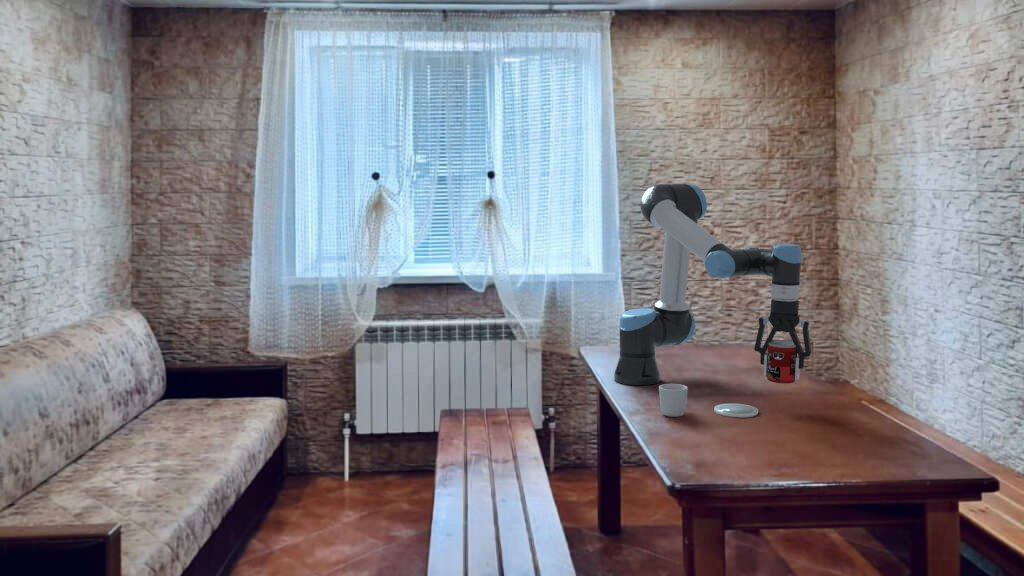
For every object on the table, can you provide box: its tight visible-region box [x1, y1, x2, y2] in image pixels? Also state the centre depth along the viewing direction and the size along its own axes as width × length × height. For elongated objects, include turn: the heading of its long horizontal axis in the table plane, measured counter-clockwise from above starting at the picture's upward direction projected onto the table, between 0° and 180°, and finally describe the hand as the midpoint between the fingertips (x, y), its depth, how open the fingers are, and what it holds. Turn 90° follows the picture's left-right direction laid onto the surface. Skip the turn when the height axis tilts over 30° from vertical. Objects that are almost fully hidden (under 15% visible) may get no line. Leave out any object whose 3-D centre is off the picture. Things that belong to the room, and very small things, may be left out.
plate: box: [713, 403, 759, 419], centre depth 232 cm, size 12×12×1 cm
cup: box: [658, 383, 689, 418], centre depth 231 cm, size 11×8×8 cm
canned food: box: [766, 339, 798, 385], centre depth 234 cm, size 8×8×11 cm
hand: (781, 377), depth 234 cm, fingers closed on canned food, 8 cm apart
